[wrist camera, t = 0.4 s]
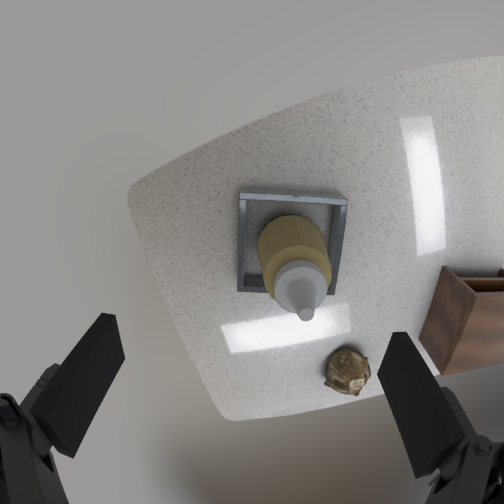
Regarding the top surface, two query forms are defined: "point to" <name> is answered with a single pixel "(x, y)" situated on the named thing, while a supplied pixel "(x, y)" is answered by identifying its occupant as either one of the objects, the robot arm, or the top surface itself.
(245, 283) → the holder
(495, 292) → the wooden shelf
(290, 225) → the squeeze bottle
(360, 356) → the fossilized seashell
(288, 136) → the top surface
